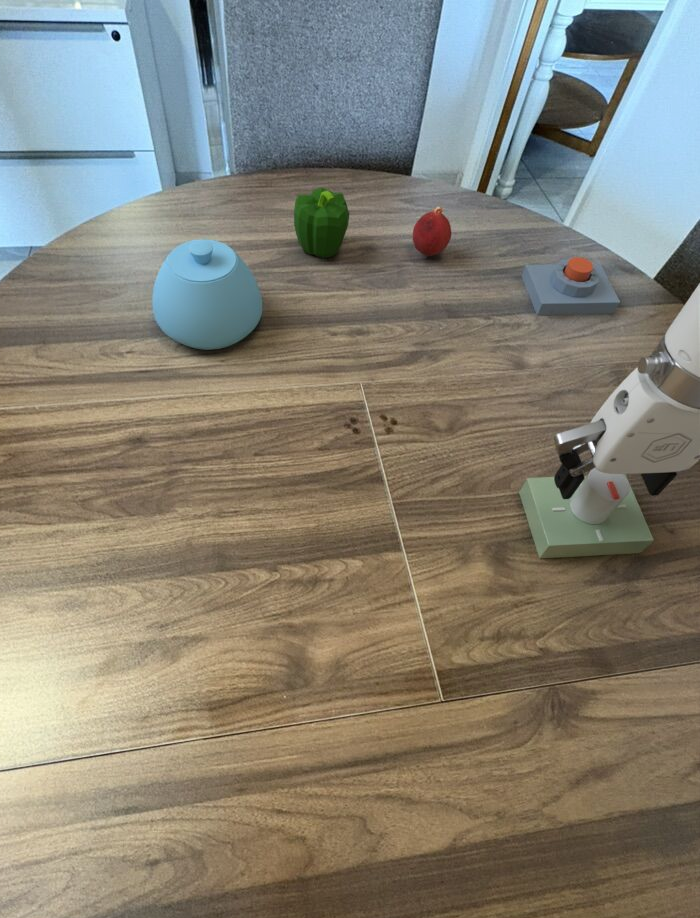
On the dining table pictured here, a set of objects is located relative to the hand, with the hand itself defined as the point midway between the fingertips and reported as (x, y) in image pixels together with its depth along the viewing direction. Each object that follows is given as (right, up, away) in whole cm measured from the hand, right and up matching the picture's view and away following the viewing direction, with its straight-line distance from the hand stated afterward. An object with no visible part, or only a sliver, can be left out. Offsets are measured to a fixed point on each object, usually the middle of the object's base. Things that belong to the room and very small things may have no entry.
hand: (605, 486), depth 65 cm
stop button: (+8, +32, +26) cm, 42 cm away
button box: (+7, +30, +29) cm, 42 cm away
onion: (-13, +38, +32) cm, 52 cm away
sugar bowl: (-46, +24, +22) cm, 57 cm away
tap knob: (0, -2, +4) cm, 4 cm away
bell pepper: (-30, +39, +32) cm, 59 cm away
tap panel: (0, -4, +6) cm, 8 cm away
